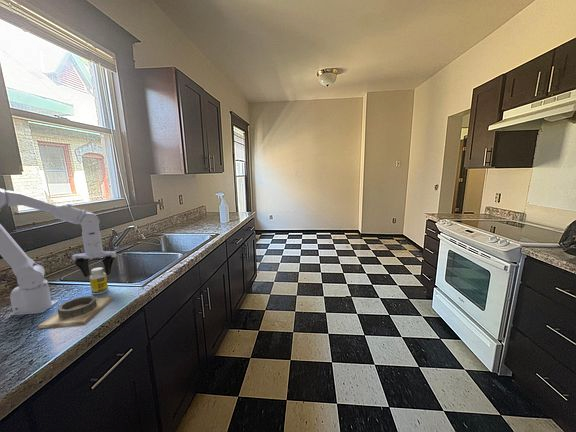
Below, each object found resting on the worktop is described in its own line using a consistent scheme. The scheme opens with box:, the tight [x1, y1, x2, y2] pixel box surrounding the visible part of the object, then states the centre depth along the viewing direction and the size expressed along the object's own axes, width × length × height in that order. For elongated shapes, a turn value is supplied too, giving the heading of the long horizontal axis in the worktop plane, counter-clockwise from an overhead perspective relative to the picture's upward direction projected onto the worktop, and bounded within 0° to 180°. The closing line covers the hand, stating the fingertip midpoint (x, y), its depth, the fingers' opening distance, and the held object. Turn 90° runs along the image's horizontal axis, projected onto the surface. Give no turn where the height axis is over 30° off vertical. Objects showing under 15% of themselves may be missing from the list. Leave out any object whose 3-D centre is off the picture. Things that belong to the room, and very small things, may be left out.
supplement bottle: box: [89, 267, 109, 295], centre depth 100 cm, size 5×5×10 cm
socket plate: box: [37, 295, 113, 329], centre depth 85 cm, size 13×16×4 cm
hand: (97, 275), depth 100 cm, fingers open, 7 cm apart
